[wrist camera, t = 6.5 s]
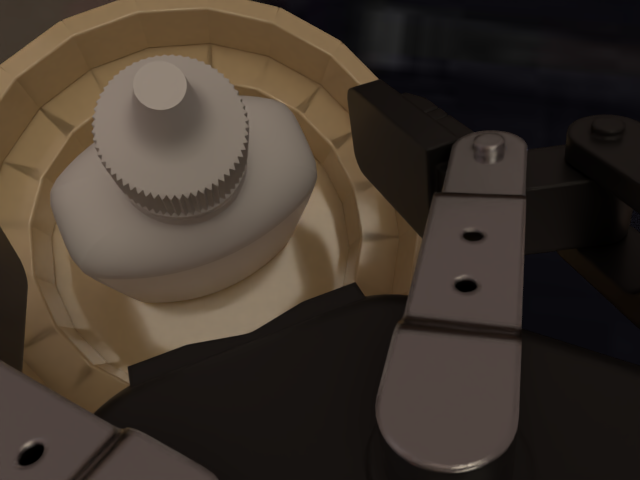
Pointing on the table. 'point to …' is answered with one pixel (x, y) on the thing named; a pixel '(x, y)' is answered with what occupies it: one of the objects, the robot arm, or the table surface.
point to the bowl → (76, 135)
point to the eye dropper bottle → (182, 183)
